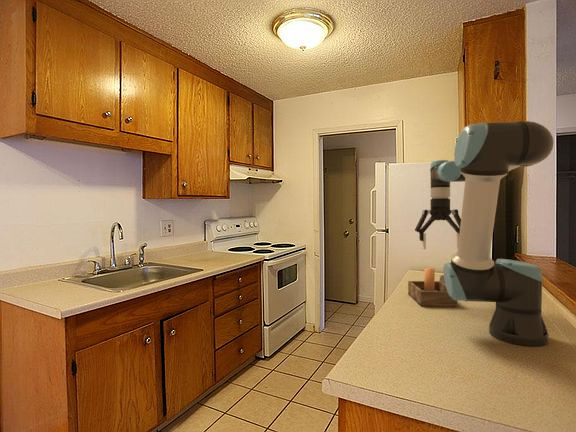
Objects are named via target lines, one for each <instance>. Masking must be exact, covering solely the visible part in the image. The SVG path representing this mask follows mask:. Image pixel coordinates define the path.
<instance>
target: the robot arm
mask: <svg viewBox="0 0 576 432" xmlns="http://www.w3.org/2000/svg"><path fill="white" fill-rule="evenodd" d="M554 142H555V141H554V137H553V135H552V133H551V131H550V130H549V129H548V128H547V127H546V126H544V125H543V124H540V123H538V122H536V121H529V120H522V121H520V120H519V121H502V122H501V121H500V122H480V123H472V124H467V125H466V126H465V127H464V128H462V130H461V132H460V133H459V134H458V137H457V139H456V143H455V146H454V152H453V154H454V155H453V156H454V158H453V159H454V160H446V159H440V160H439V159H438V160H433V161H431V163H430V168H429V172H430V173H429V174H430V198H431V199H430V209H422V212H421V213H422V214H421V216H420V219H419V221H418V223H417V224H416V227H415V228H414V231H415V232H416V233H419V236H418V237H419V238H418V239H419V241H420V242H421V249H423V250H426V248H427V233H425V232H426V231H427V230H428V228H429V227H431V224H433V223H434V222H435V221H446V222H447V223H448V224H449V226H451V227H452V229H453V230H454V231H455V232H454V241H453V243H454V249H456V250H457V252H456V253H454V254H453V255H452V256H451V259H450V260H451V261H450V262H446V263H444V266H443V272H442V273H443V276H444V281H445V285H446V289H447V292H448V294H449V296H450V297H451V298H452V299H453V300H457V302H458V301H460V302H461V301H462V302H476V303H477V302H480V303H481V302H483V303H495V310H494V311H493V314H492V317H491V319H490V321H489V323H488V324H489V325H488V332H489V334H490V335H491V336H493V337H494V338H496V339H498V340H501V341H503V342H507V343H511V344H515V345H517V346H518V345H520V346H525V347H526V346H527V347H541V346H546V345H548V344H549V338H550V337H549V332H548V329H547V326H546V323H545V321H544V318H543V314H542V309H543V308H542V305H543V302H542V301H543V283H544V280H543V272H542V269H541V268H540V266H538V265H536V264H533V263H529V262H525V261H521V260H513V259H506V258H497V259H496V260H495V261H494V260H493V259H492V258H491V256H490V255H491V247H492V239H493V233H494V226H495V220H496V219H495V218H496V213H497V206H498V197H499V192H500V184H501V180H502V179H503V178H504V177H506V176H507V175H508V173H509V172H511V171H512V170H515V169H517V168H519V167H525V168H526V167H531V166H534V165H537V164H539V163H541V162H543V161H545V159H547V158H548V157H549V156H550V155H551V153H552V151H553V149H554ZM454 182H457V183H458V182H459V183H460V182H464V190H463V196H462V197H463V198H462V207H461V217H460V215H459V210H458V209H455V208H453V209H451V198H450V197H451V183H454ZM429 214H430V217H429V218H428V220H427V221H426V222H425V220H426V219H427V216H429ZM450 215H452V216H453V218H454V220H455V221H454V220H453V218H452V217H451V216H450Z"/></svg>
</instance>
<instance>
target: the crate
mask: <svg viewBox="0 0 576 432" xmlns="http://www.w3.org/2000/svg"><path fill="white" fill-rule="evenodd" d="M407 283H408V284H407V286H408V287H407V288H408V289H407V295H408V296H409V297H410V298H412V300H414V302H416V303H417V304H418V306H420V307H421V308H422V307H426V308H427V307H429V308H431V307H433V308H435V307H437V308H440V307H442V308H448V307H449V308H457V307H458V300H453V299H452V298H451V297H450V296H449V294H448V292H447V289H446V285H445V284H444V283H442V282H441V281H439V280H438V281H436V280H435V291H424V280H408V282H407Z"/></svg>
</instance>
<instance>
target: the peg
mask: <svg viewBox="0 0 576 432" xmlns="http://www.w3.org/2000/svg"><path fill="white" fill-rule="evenodd" d="M435 275H436V274H435V268H433V267H425V268H424V279H423V281H424V291H435V281H436V280H435Z"/></svg>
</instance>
